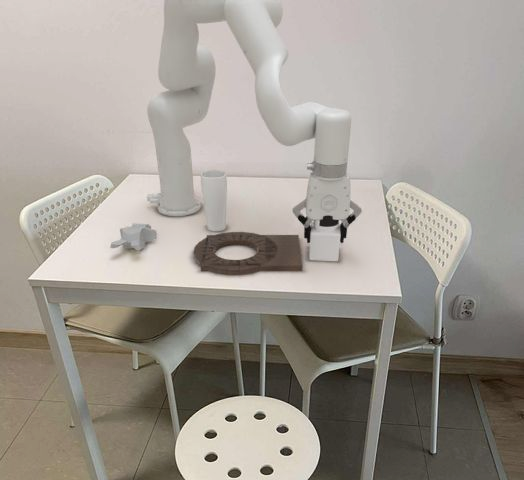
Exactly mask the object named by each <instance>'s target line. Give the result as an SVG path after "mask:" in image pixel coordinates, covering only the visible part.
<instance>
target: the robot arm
mask: <svg viewBox="0 0 524 480" xmlns="http://www.w3.org/2000/svg"><path fill="white" fill-rule="evenodd" d="M283 14H284V9H283V4H282V1H281V0H164V2H163V28H162V29H163V30H162V37H161V42H160V51H159V61H158V70H157V72H158V73H157V75H158V80H159V83H160V84H161V86H162V87H163V88H164V89H166V91H161V92H158V93H157V94H155V95H154V96H153V95H152V97H151V98H150V99H149V101H148V103H147V107H146V111H147V112H146V113H147V118H148V121H149V124H150V125H149V126H150V127H151V132H152V135H153V140H154V146H155V153H156V161H157V163H156V164H157V171H158V178H159V186H160V188H159V189H160V192H158V193H157V194H156V193H155V194H153V193H147V194H146V200H147V202H149V204H157V211H158V213H160V214H161V215H164V216H169V217H185V216H190V215H193V214H195V213H197V212H199V211H200V210H201V208H202V207H201V206H202V205H201V202H200V200H198V199H196V198H195V197H196V196H195V184H194V174H193V173H194V171H193V161H192V159H193V158H192V149H191V143H190V140H189V139H188V137H187V135H186V134H185V132H184V128H187V127H189V126H193V125H196V124H198V123H201V122H203V121H204V119H205V118H206V116H207V114H208V111H209V109H210V103H211V100H212V99H211V98H212V95H213V89H214V84H215V80H216V72H217V71H216V70H217V69H216V67H217V66H216V62H215V58H214V55H213V54H212V52H211V50H210V49H209V48H208V47H207V46H205V45H203V44H199V40H200V32H199V26H198V24H213V23H223V22H226V24H227V25H228V27H229V29H230V32H231V33H232V34H233V37H234V38H235V40H236V42H237V45H238V46H239V48H240V49H241V51H242V53H243V55H244V56H245V58H246V60H247V63H248V64H249V65H250V67H251V69H252V71H253V73H254V77H255V78H254V93H255V101H256V106H257V109H258V112H259V114H260V117H261V119H262V120H263V122H264V124H265V126H266V127H267V130H268V131H269V133H270V134H271V135H272V137H273V138H274V139H275V141H277V142H278V143H279V144H280V145H282V146H285V147H293V146H296V145H298V144H301V143H303V142H306V141H308V140H313V139H314V151H313V161H312V162H309V163H307V164H306V170H307V171H309V170H310V171H311V172H310V174H309V178H308V183H307V190H306V196H305V199H303V200H302V201H300V202H299V203H298V204H296V205H295V206H293V207H292V214H293V215H294V216H295V217H296V218H297V220H298V222H299V223H300V224H301V225H303V226H304V228H303V229H304V230H303V239H306V243H307V244H310V233H311V223H312V222H314V220H321V219H323V216H327V215H329V216H333V219H334V220H339V221H341V223H340V234H341V237H340V244H344V241H345V239H347V234H348V228H349V227H350V225H351V224H352V223H354V221H356V219H357V218H358V217H359V216H360V215H361V214H362V213H363V209H362V208H361V207H360V206H359V205H358V204H356V203H355V202H354V201H353V200H351V177H350V174H349V173H348V172H347V171H348V160H349V149H350V138H351V129H352V115H351V112H349V110H346V109H344V108H338V107H329V106H326V105H323V104H321V103H318V102H314V101H306V102H303V103H300V104H296V105H294V106H290V104H289V102H288V101H287V99H286V96H285V95H284V92H283V89H282V87H281V81H280V77H281V76H280V75H281V70H282V68H283V66H284V65H285V64H286V62H287V60H288V58H289V50H288V48H287V45H286V44H285V43H284V41H283V38H282V37H281V35H280V33H279V31H278V29H277V28H278V26H279V25H280V24H281V22H282V19H283ZM304 209H305V215H306V216H305V215H303V214H302V212H301V211H303V210H304ZM350 210H352V213H350Z"/></svg>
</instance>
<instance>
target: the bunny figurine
mask: <svg viewBox="0 0 524 480" xmlns="http://www.w3.org/2000/svg"><path fill="white" fill-rule="evenodd" d="M119 232H120V238H121V239H118V240H115V241H112V242H111V243H110V247H109V248H110V249H117V248H119V247H121V246H122V247H123V248H126V249H127V250H131V249H133V250H136V251H140V250H143V249H144V248H145V245H146V243H147V242H151V241H154V240H156V239H157V230H156V229H153V228H152V225H150V224H149V223H133V222H132V224H131V226H125V227H121V228H119Z"/></svg>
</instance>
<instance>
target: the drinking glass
mask: <svg viewBox="0 0 524 480" xmlns="http://www.w3.org/2000/svg"><path fill="white" fill-rule="evenodd" d="M200 188H201V196H202V201H203V208H204V214H205V215H204V216H205V221H206V228H207V230H209V231H211V232H222V231H224V230H226V228H227V209H228V208H227V207H228V206H227V204H228V176H227V172H226V171H224V170H222V169H209V170H208V169H207V170H204V171H202V172H201V173H200Z"/></svg>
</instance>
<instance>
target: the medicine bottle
mask: <svg viewBox="0 0 524 480" xmlns="http://www.w3.org/2000/svg"><path fill="white" fill-rule="evenodd" d="M340 224H341V223H340V220H334V219H333V216H329V215H327V216H323V219H321V220H313V221H312V222H311V224H310V225H311V233H310V242H309V251H308V252H309V253H308V260H309V261H315V262H317V261H318V262H319V261H320V262H338V261H339V259H340V258H339V257H340V246H341V242H340V237H341V234H340Z"/></svg>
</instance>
